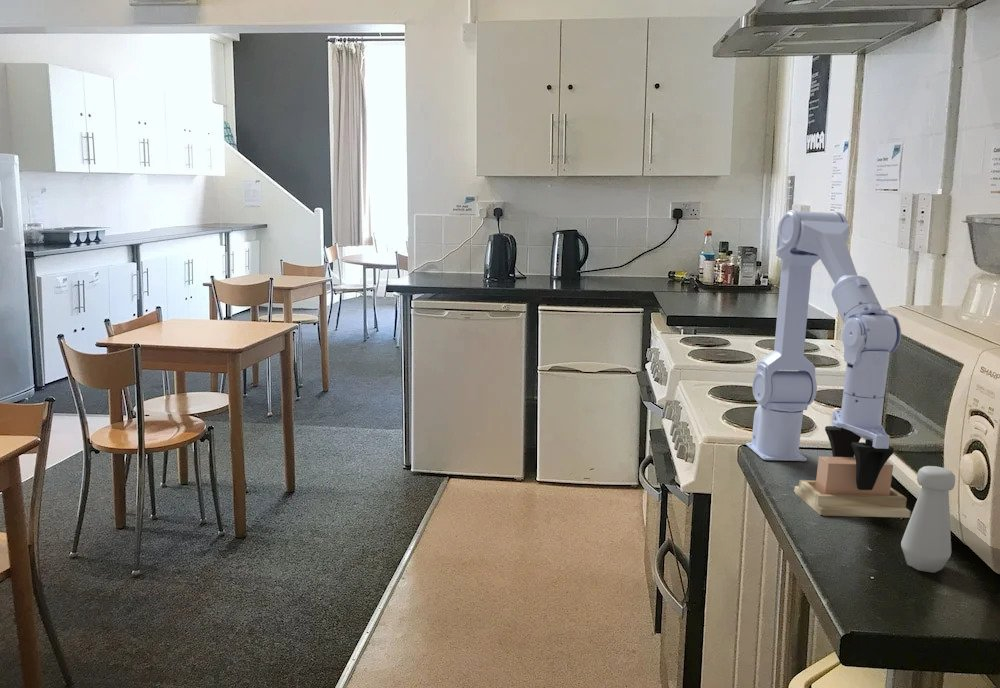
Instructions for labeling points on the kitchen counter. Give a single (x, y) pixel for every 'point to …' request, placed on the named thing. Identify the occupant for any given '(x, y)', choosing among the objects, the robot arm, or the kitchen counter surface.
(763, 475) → the kitchen counter surface
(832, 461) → the clay block
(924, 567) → the salt shaker
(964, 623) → the kitchen counter surface
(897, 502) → the tray
